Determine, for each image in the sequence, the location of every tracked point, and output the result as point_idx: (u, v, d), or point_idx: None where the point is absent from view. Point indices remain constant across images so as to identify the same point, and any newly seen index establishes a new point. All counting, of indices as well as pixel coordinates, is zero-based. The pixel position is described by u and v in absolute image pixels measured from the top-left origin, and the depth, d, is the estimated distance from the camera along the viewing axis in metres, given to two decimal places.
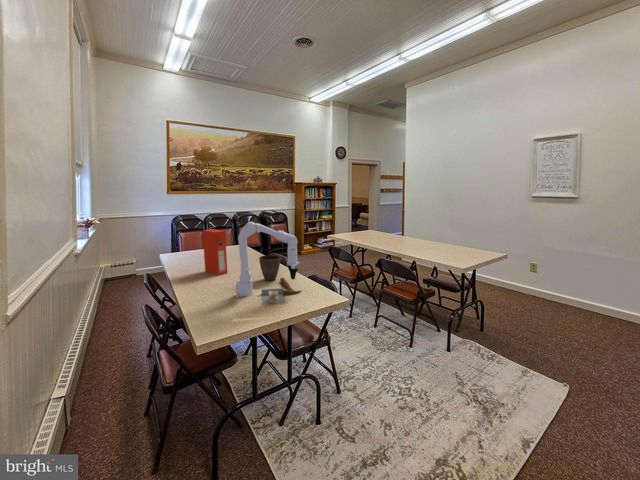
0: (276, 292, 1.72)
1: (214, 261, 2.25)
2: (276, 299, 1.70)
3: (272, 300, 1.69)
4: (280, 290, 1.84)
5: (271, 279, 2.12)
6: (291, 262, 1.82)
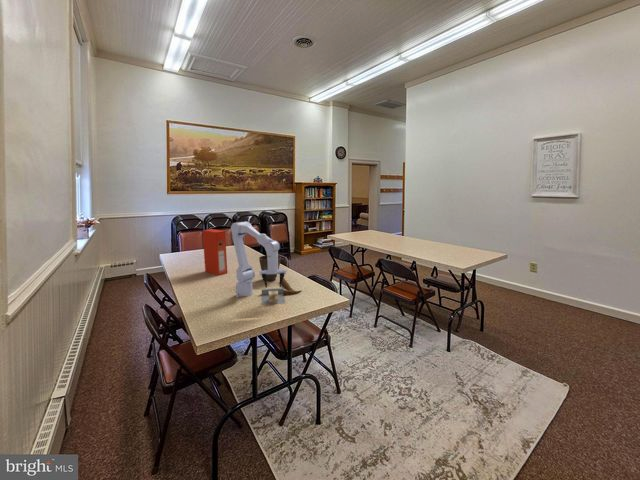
0: (276, 292, 1.72)
1: (214, 261, 2.25)
2: (276, 299, 1.70)
3: (272, 300, 1.69)
4: (280, 290, 1.84)
5: (271, 279, 2.12)
6: None
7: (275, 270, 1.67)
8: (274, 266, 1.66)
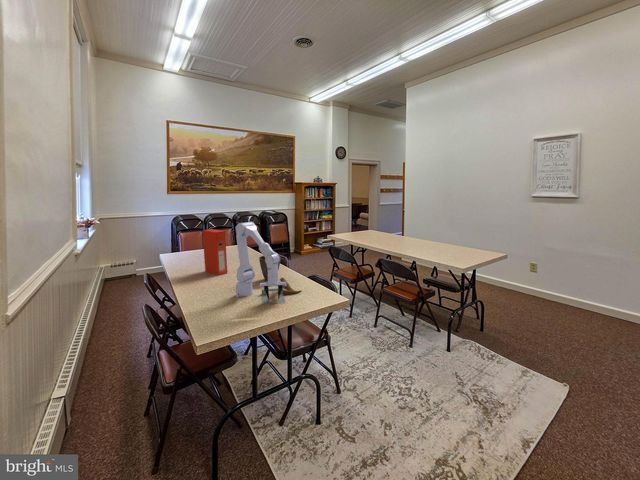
0: (276, 292, 1.72)
1: (214, 261, 2.25)
2: (276, 299, 1.70)
3: (272, 300, 1.69)
4: None
5: None
6: None
7: (275, 282, 1.68)
8: (274, 278, 1.68)
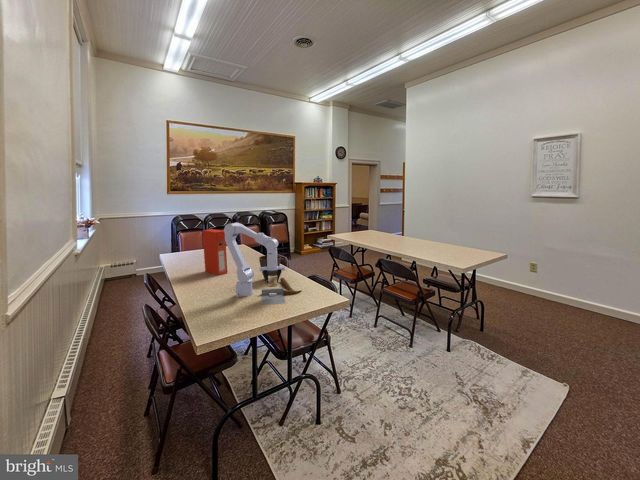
0: (275, 277, 1.78)
1: (214, 261, 2.25)
2: (275, 283, 1.75)
3: (271, 284, 1.75)
4: (280, 290, 1.84)
5: None
6: None
7: (274, 267, 1.74)
8: (273, 263, 1.74)
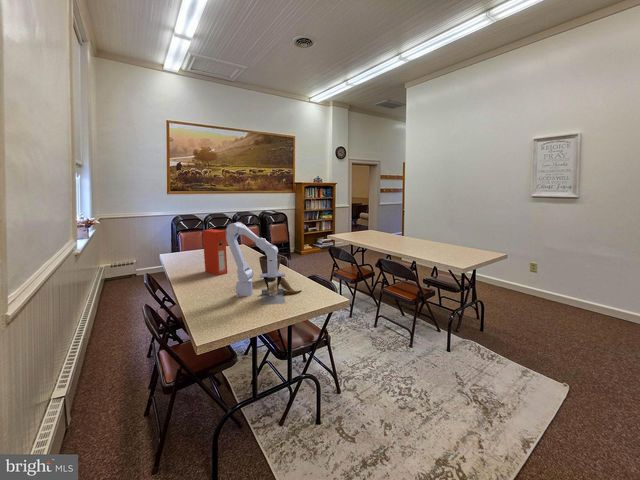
0: (275, 283, 1.80)
1: (214, 261, 2.25)
2: (275, 290, 1.78)
3: (271, 291, 1.77)
4: (280, 290, 1.84)
5: (271, 279, 2.12)
6: None
7: (274, 273, 1.76)
8: (273, 270, 1.76)
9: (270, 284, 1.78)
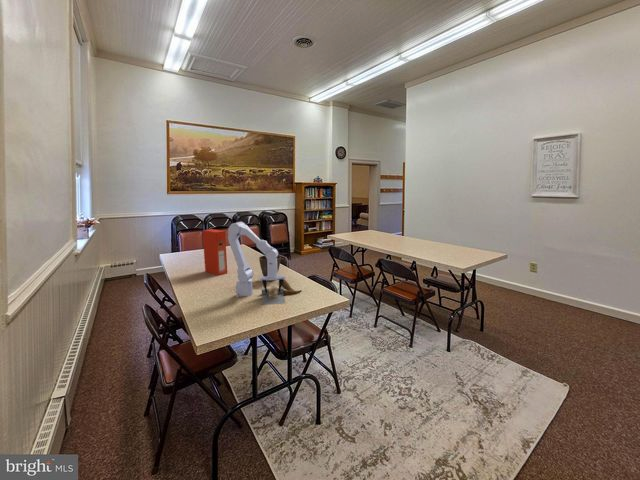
0: (275, 287, 1.80)
1: (214, 261, 2.25)
2: (275, 294, 1.78)
3: (271, 295, 1.78)
4: (280, 290, 1.84)
5: None
6: None
7: (274, 276, 1.77)
8: (274, 273, 1.76)
9: (270, 288, 1.79)
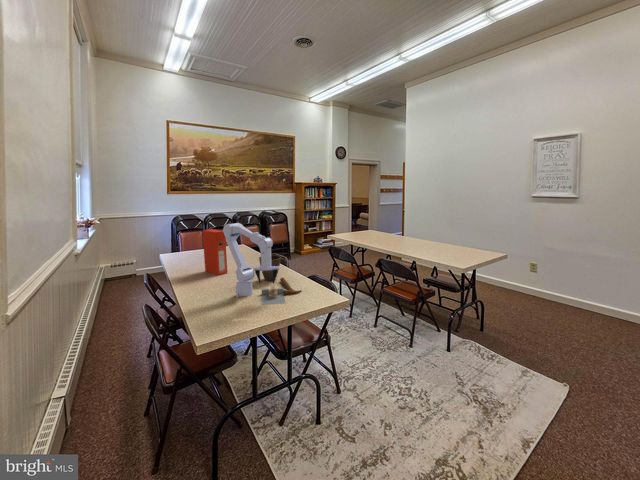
0: (275, 287, 1.80)
1: (214, 261, 2.25)
2: (275, 294, 1.78)
3: (271, 295, 1.78)
4: (280, 290, 1.84)
5: (271, 279, 2.12)
6: None
7: (268, 266, 1.71)
8: (267, 262, 1.70)
9: (270, 288, 1.79)
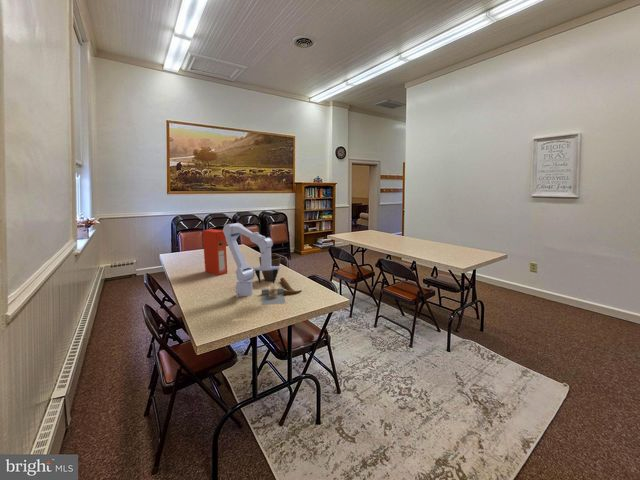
0: (275, 287, 1.80)
1: (214, 261, 2.25)
2: (275, 294, 1.78)
3: (271, 295, 1.78)
4: (280, 290, 1.84)
5: (271, 279, 2.12)
6: None
7: (268, 266, 1.71)
8: (267, 262, 1.70)
9: (270, 288, 1.79)
